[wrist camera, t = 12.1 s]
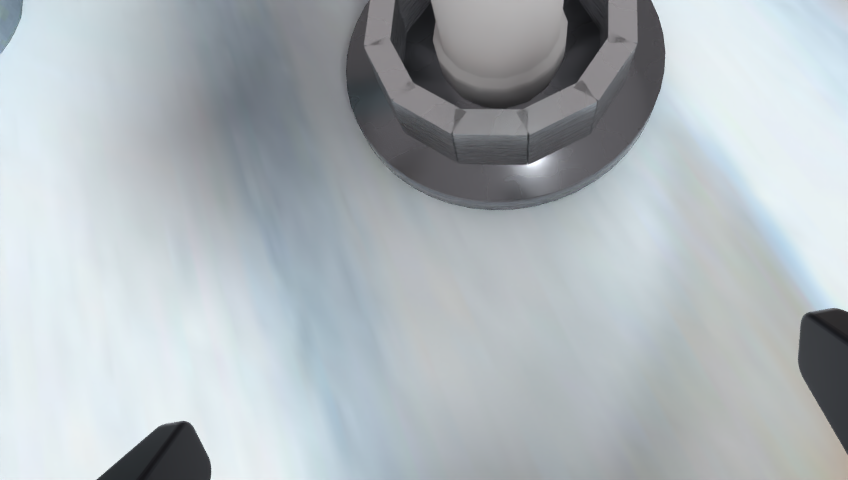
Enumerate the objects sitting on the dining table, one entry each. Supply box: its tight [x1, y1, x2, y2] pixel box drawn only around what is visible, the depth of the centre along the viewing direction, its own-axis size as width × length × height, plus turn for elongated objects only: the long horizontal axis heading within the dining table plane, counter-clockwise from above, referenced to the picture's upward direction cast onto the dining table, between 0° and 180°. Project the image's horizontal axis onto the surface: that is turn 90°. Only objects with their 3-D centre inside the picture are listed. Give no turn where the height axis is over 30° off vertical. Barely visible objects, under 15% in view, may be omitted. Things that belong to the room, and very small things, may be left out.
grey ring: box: [346, 0, 665, 210], centre depth 24 cm, size 13×13×4 cm
